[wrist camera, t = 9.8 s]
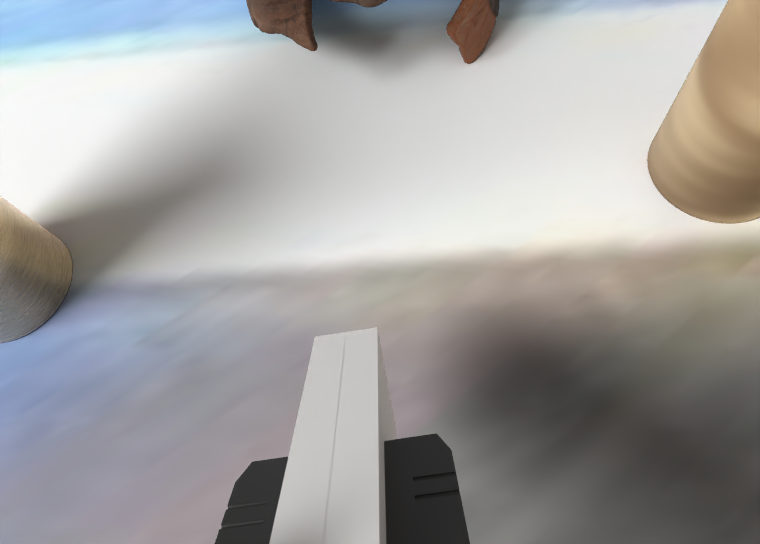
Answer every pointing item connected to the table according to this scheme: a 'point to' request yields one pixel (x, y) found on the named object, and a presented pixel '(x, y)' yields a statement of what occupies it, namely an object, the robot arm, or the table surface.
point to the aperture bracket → (29, 273)
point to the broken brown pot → (294, 6)
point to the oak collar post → (716, 126)
